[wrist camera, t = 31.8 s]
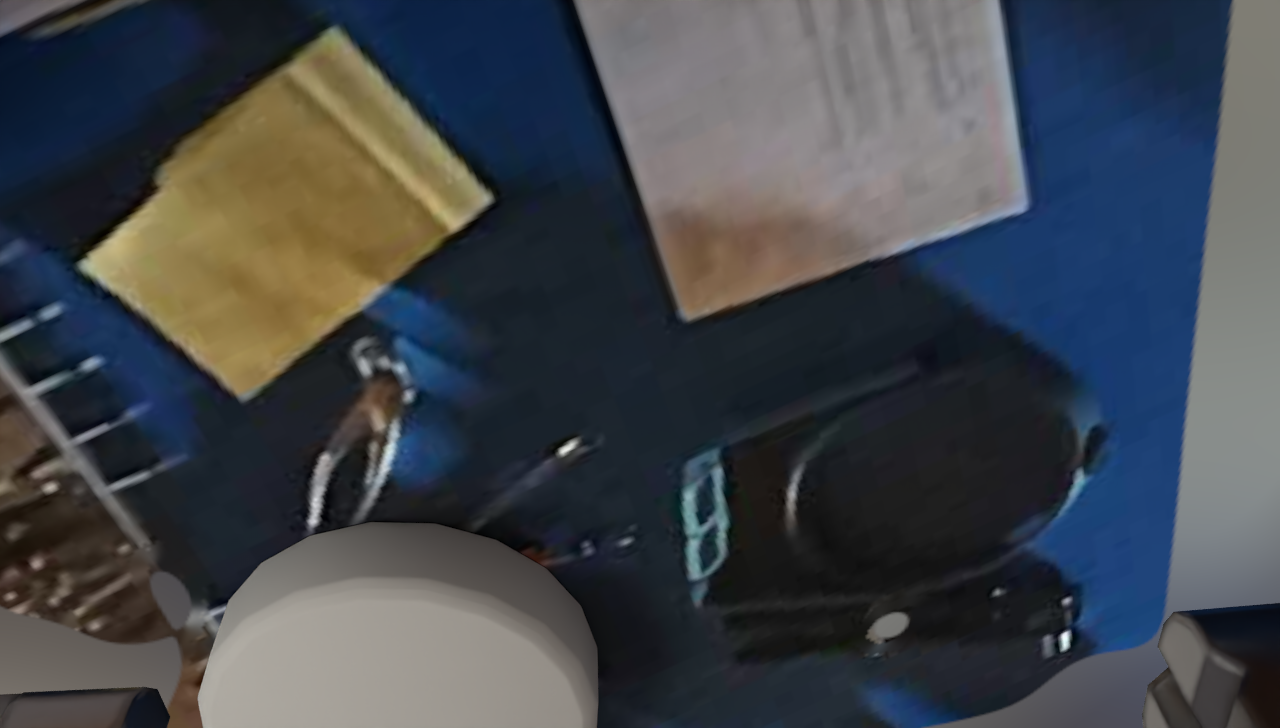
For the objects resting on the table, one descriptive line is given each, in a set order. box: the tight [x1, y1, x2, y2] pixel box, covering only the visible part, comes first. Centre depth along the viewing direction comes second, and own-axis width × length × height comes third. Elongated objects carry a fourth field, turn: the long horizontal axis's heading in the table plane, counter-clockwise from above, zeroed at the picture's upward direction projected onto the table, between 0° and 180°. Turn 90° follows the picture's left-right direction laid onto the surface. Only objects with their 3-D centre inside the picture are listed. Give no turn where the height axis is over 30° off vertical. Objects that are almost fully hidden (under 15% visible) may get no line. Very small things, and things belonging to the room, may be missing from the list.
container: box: [198, 522, 598, 728], centre depth 62 cm, size 20×20×5 cm
